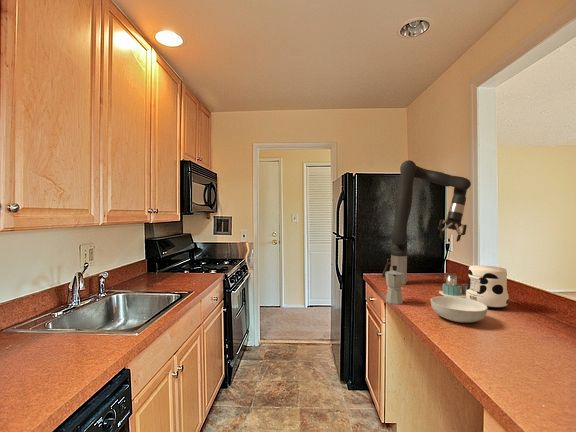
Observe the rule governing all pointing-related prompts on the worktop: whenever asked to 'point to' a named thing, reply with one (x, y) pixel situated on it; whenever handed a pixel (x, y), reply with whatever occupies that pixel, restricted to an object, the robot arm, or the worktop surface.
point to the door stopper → (386, 268)
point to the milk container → (488, 286)
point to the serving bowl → (458, 308)
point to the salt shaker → (451, 280)
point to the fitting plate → (454, 291)
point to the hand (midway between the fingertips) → (449, 239)
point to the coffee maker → (394, 286)
